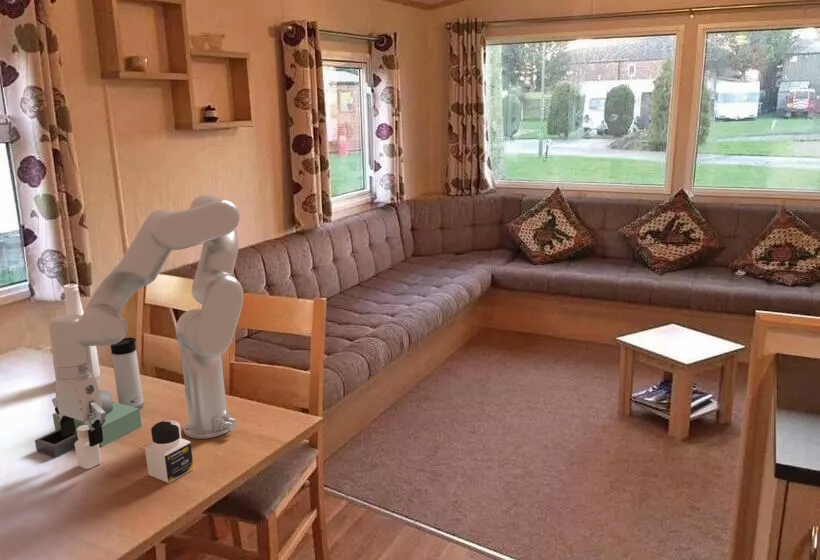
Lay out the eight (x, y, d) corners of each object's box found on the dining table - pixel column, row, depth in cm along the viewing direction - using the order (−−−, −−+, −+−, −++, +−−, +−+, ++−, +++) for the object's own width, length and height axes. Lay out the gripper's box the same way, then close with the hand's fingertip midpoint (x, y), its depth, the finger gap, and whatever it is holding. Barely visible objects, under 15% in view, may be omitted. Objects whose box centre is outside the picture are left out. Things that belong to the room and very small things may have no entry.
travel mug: (139, 411, 181) (129, 343, 176) (115, 412, 181) (105, 343, 176) (148, 402, 187) (139, 335, 182) (125, 402, 187) (116, 335, 182)
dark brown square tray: (82, 444, 163) (80, 433, 163) (55, 457, 157) (53, 446, 156) (63, 438, 167) (62, 427, 166) (36, 451, 160) (34, 440, 160)
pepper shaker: (103, 463, 154) (97, 426, 152) (87, 471, 151) (80, 433, 149) (92, 458, 156) (87, 422, 154) (77, 466, 153) (70, 429, 151)
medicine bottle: (168, 484, 145) (162, 434, 142) (147, 475, 149) (141, 427, 146) (194, 469, 151) (188, 421, 148) (173, 461, 154) (167, 414, 151)
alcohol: (96, 382, 201) (82, 287, 194) (65, 385, 200) (49, 290, 192) (103, 371, 210) (89, 280, 202) (73, 374, 208) (58, 282, 201)
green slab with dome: (141, 426, 172) (137, 394, 170) (101, 446, 162) (96, 413, 160) (96, 413, 180) (91, 382, 178) (55, 431, 170) (49, 399, 168)
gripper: (113, 370, 147) (121, 440, 151) (64, 357, 155) (72, 424, 159) (83, 382, 140) (92, 455, 144) (33, 368, 148) (43, 437, 152)
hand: (82, 439), depth 152 cm, fingers open, 9 cm apart
